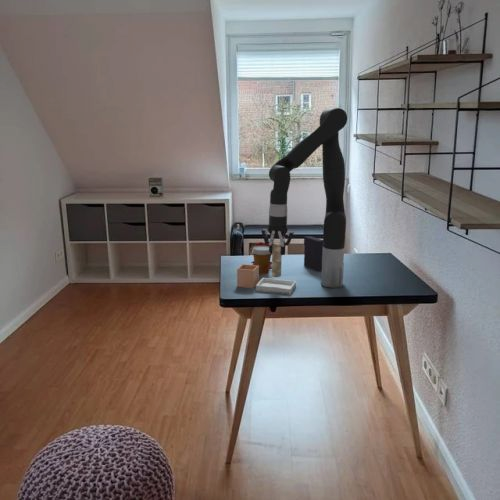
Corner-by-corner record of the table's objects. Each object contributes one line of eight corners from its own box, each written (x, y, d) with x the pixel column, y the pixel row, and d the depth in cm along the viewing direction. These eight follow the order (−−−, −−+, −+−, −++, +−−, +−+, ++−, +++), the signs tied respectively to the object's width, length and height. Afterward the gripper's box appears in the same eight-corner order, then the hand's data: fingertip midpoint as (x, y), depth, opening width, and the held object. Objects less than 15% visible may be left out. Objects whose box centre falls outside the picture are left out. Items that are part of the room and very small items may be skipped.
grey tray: (295, 286, 220) (295, 281, 219) (290, 294, 210) (290, 289, 209) (262, 282, 224) (262, 277, 224) (255, 290, 214) (255, 285, 213)
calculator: (324, 270, 243) (325, 240, 239) (317, 271, 241) (319, 241, 237) (309, 264, 252) (310, 235, 248) (302, 266, 250) (304, 236, 246)
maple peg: (281, 274, 217) (282, 243, 213) (279, 277, 213) (280, 245, 210) (272, 273, 218) (273, 242, 214) (270, 276, 214) (271, 244, 211)
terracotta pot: (258, 282, 224) (258, 265, 222) (253, 288, 217) (254, 270, 215) (242, 281, 226) (242, 264, 224) (237, 286, 219) (237, 268, 217)
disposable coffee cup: (270, 276, 234) (270, 251, 230) (250, 274, 235) (250, 249, 232) (273, 270, 243) (273, 246, 239) (253, 268, 244) (254, 244, 241)
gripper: (296, 213, 210) (295, 253, 215) (264, 211, 214) (263, 250, 219) (293, 217, 203) (291, 258, 208) (259, 214, 207) (258, 254, 212)
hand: (276, 253), depth 213 cm, fingers closed on maple peg, 4 cm apart
